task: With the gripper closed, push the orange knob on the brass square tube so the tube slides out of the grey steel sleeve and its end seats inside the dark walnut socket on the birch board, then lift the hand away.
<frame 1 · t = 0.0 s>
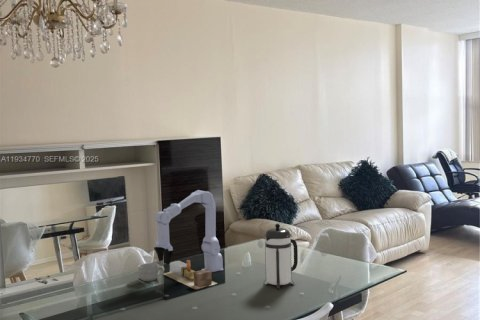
hand: (164, 262, 242), 10 cm above the table, tool pointing down, fingers open, 7 cm apart
birch board: (189, 279, 246), on the table
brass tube: (183, 266, 249), point 6 cm above the table, slide at 0.0 cm
steel sleeve: (180, 274, 253), resting on birch board
teacup: (151, 280, 246), on the table
walnut socket: (202, 284, 235), resting on birch board
coffee press: (280, 284, 235), on the table
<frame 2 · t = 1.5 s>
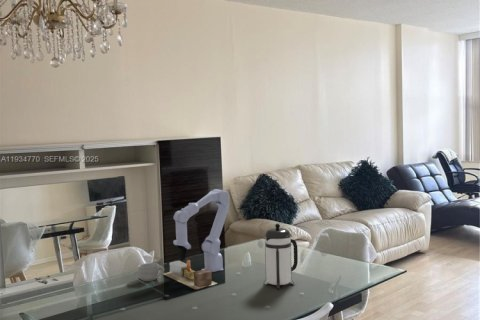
hand: (182, 260, 250), 9 cm above the table, tool pointing down, fingers closed
nothing on the table moved.
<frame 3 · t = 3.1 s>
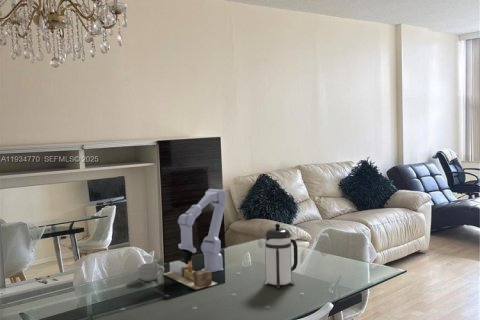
hand: (187, 263, 246), 8 cm above the table, tool pointing down, fingers closed
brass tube: (185, 266, 248), point 6 cm above the table, slide at 1.3 cm, touching gripper
everything else where it was.
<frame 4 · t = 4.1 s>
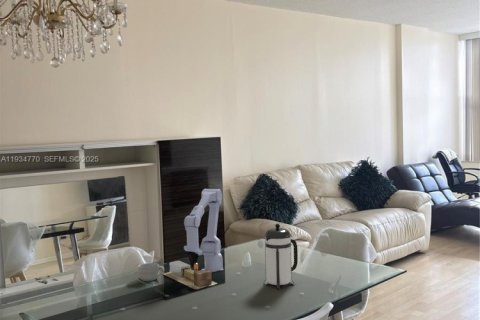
hand: (193, 266, 241), 8 cm above the table, tool pointing down, fingers closed
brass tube: (190, 269, 244), point 6 cm above the table, slide at 7.1 cm, touching gripper
everything else where it was.
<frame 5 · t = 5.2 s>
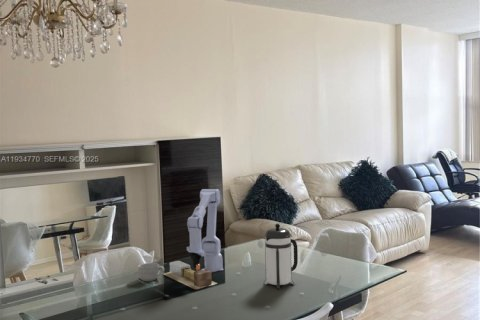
hand: (196, 267, 239), 8 cm above the table, tool pointing down, fingers closed, pressing on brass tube
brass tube: (192, 269, 242), point 6 cm above the table, slide at 9.0 cm, touching gripper, walnut socket
everything else where it was.
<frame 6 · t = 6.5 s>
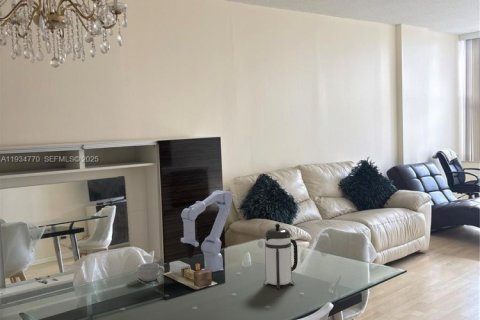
hand: (190, 257, 249), 10 cm above the table, tool pointing down, fingers closed
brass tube: (192, 269, 242), point 6 cm above the table, slide at 8.8 cm
everything else where it was.
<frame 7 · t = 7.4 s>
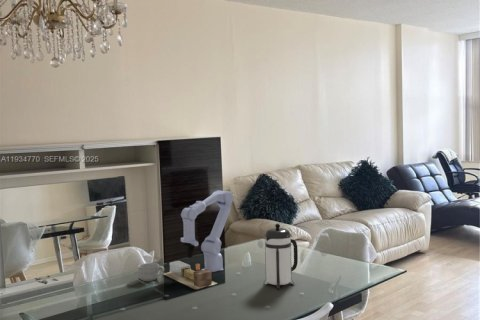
hand: (189, 257, 249), 10 cm above the table, tool pointing down, fingers closed
nothing on the table moved.
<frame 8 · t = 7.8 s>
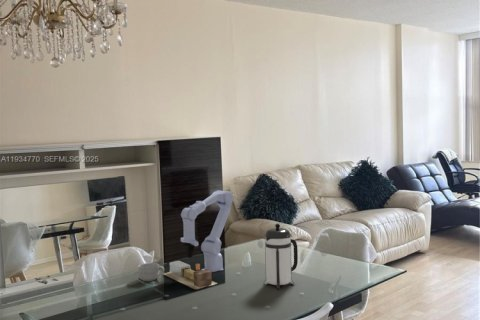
hand: (189, 257, 249), 10 cm above the table, tool pointing down, fingers closed
nothing on the table moved.
at the end: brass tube slide at 8.8 cm; teacup moved 0.3 cm from its start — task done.
